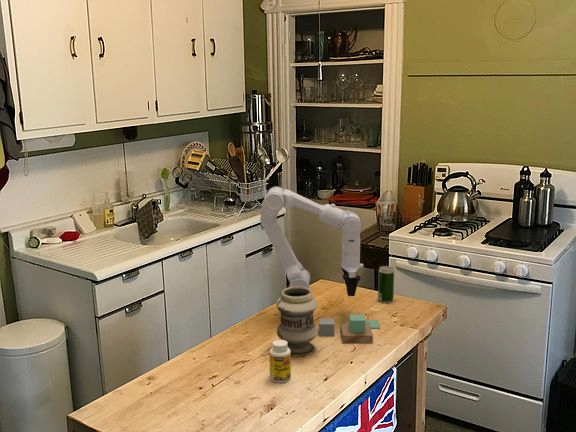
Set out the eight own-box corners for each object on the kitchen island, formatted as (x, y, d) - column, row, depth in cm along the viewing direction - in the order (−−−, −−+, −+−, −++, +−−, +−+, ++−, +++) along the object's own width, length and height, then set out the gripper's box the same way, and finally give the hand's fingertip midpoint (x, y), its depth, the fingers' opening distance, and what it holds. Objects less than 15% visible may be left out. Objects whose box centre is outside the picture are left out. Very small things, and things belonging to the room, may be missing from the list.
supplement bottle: (272, 384, 161) (271, 348, 159) (268, 374, 167) (267, 339, 164) (293, 382, 162) (292, 346, 160) (288, 372, 168) (287, 337, 165)
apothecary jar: (270, 354, 178) (269, 295, 174) (285, 337, 189) (284, 281, 185) (310, 360, 174) (310, 300, 170) (323, 343, 185) (323, 286, 181)
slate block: (319, 336, 190) (319, 324, 189) (318, 330, 194) (318, 318, 194) (334, 336, 190) (334, 324, 189) (333, 330, 194) (333, 318, 193)
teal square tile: (361, 328, 195) (361, 327, 195) (359, 321, 201) (359, 320, 201) (380, 328, 195) (380, 327, 195) (377, 321, 201) (377, 319, 201)
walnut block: (342, 344, 185) (342, 335, 184) (340, 332, 194) (340, 323, 193) (372, 344, 185) (372, 335, 184) (369, 332, 194) (369, 323, 193)
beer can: (385, 304, 214) (385, 271, 212) (374, 300, 219) (375, 267, 216) (396, 301, 217) (397, 268, 214) (386, 296, 222) (387, 264, 219)
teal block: (350, 332, 186) (350, 320, 185) (349, 326, 190) (349, 314, 190) (365, 332, 186) (365, 320, 185) (363, 326, 190) (364, 314, 189)
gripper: (365, 258, 190) (364, 299, 193) (361, 244, 204) (360, 283, 208) (342, 258, 190) (342, 299, 194) (340, 244, 205) (339, 283, 208)
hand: (350, 291), depth 201 cm, fingers open, 7 cm apart
